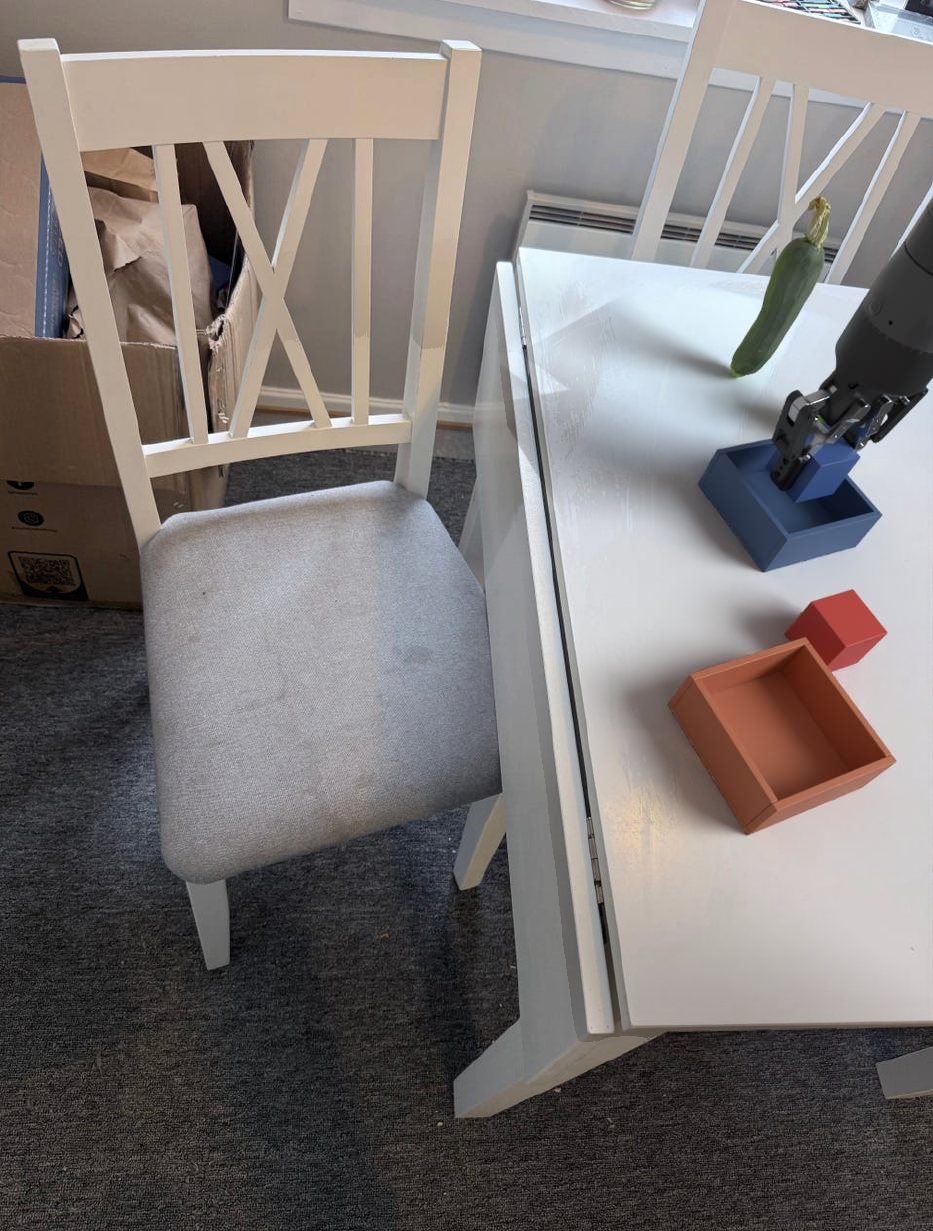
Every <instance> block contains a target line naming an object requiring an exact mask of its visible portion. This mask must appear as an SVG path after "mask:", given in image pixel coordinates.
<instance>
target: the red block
mask: <svg viewBox="0 0 933 1231" xmlns="http://www.w3.org/2000/svg"><path fill="white" fill-rule="evenodd" d="M784 634H785V636H786V638H787V639H788V640H789V642H791V641H794V640H798V639H801V638H804V637H806V638H807V640H808V641H809V643H810V644H811V645H812V647H813V648H814V649H815V651H816V652H817V653H818V655H819V656H820V657H821V659H822V660H823V661H824V663H825V664H826V666H827V667H828V668H829V670H830V671H831V672H832V673H833V672H835V671H838V670H841V669H845V668H847V667H850V666H854V665H856V664H858V663H859V662H860V661H861V660H862V659H863V658H864V657H865V656H866V655H867V654H869V652H870V651H871V650H872V649H873V648H874V647H876V645H878V643H880V641H881V640H883V638H885V637H886V636H887V635H888V634H889V632H888V631H887V630H886V628H885V626H884V625H882V623H881V622H880V621H879V619H878V618H877V617H876V616H875V614H874V613H873V612H872V610H870V608H869V607H868V606H867V604H866V603H865V601H863V599H862V598H861V597H860V596H859V594H858V593H857V592H856V591H855V590H854V589H853V588H851V589H848V590H844V591H842V592H839V593H838V592H837V593H835V594H832V595H828V596H825V597H822V598H819V599H815V600H812V601H810V602H809V603H808V605H807V606H806V607H805V608H804V609H803V611H802V612H801V613H800V614H799V615H798V616H797V617H796V618H795V620H794V621H793V622H792V624H790V626H789V627H788V628H787V629H786V631H784Z"/></svg>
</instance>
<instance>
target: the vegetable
mask: <svg viewBox="0 0 933 1231" xmlns="http://www.w3.org/2000/svg"><path fill="white" fill-rule="evenodd" d="M831 208H832V207H831V206H830V203H828V201H827V199H826V198H825V197H824V196H816V197H815V198H813V199H812V200H810V201H809V203H808V209H807V212H811V211H812V210H814V209H815V211H814V212H813V213H812V215H811V217H810V220H809V222H808V224H807V227H806V228H807V230H806V232H804V233H803V235H804V236H802V237H797V238H794V239H793V240H791V241H789V243H787V244H786V245H785V247H784V248H783V249H782V250H781V252H780V254H779V255H778V257H777V259H776V260H775V262H774V266H773V269H772V272H771V273H770V274H771V275H770V278H769V281H768V283H767V286H766V289H765V293H764V296H763V300H762V305H761V308H760V311H759V313H758V315H757V317H756V319H755V320H754V322H753V323H752V324H751V326H750V327H749V329H748V331H747V332H746V334H745V335H744V336H743V339H742V341H741V342H740V344H739V345H738V347H737V348H736V349H735V351H734V353H733V355H732V357H731V362H730V364H729V368H730V369H731V371H730V375H731V376H733V377H734V378H737V379H738V378H743V377H745V376H749V375H753V374H756V373H758V372H759V371H760V370H762V368H763V367H764V366H765V365H766V364H767V363H768V361H769V360H770V359H771V358H772V357H773V355H774V354H775V353H776V351H778V350H777V349H778V348H779V346H780V345H781V343H782V342H783V341H784V338H785V337H786V335H787V333H788V332H789V330H790V329H791V327H792V326H793V325H794V323H795V322H796V320H797V318H798V317H799V314H800V313H801V312H802V309H803V307H804V305H805V303H806V302H807V301H808V299H809V298H810V296H811V295H812V293H813V291H814V289H815V287H816V285H817V283H818V280H819V279H820V276H821V274H822V272H823V270H824V265H825V260H826V253H825V249H824V247H823V242H824V241H825V240H826V238H827V236H828V232H829V224H830V223H829V220H830V216H831V211H830V209H831Z"/></svg>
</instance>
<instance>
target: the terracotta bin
mask: <svg viewBox="0 0 933 1231" xmlns="http://www.w3.org/2000/svg"><path fill="white" fill-rule="evenodd" d="M667 706H668V708H669V709H670V711H671V712H672V714H673V716H674V717H675V719H676V720H677V722H678V724H679V725H680V727H681V729H682V730H683V732H684V734H685V735H686V737H687V738H688V740H689V742H690V744H691V745H692V748H694V750H695V752H696V753H697V755H698V756H699V758H700V760H701V761H702V763H703V765H704V766H705V768H706V770H707V772H708V773H709V775H710V776H711V778H712V779H713V781H714V783H715V784H716V786H717V788H718V789H719V791H720V793H721V795H722V796H723V797H724V799H725V802H727V805H728V806H729V807H730V809H731V810H732V812H733V814H734V816H735V817H736V819H737V821H738V823H739V824H740V825H741V827H742V829H743V830H744V832H745V834H746V835H747V836H750V835H752V834H755V833H758V832H761V831H762V830H764V829H767V828H769V827H772V826H774V825H776V824H779V823H781V822H783V821H786V820H788V819H791V818H793V817H795V816H798V815H800V814H802V813H805V812H808V811H810V810H812V809H814V808H817V807H819V806H821V805H824V804H827V803H828V802H829V803H830V802H831V801H834V800H835V799H838V798H841V797H843V796H845V795H848V794H850V793H852V792H855V791H858V790H860V789H863V788H864V787H865V786H867V785H868V784H869V783H871V782H872V781H873V780H875V779H876V778H877V777H879V776H880V775H881V774H883V772H884V773H885V771H887V770H888V769H889V768H891V767H892V766H894V764H896V763H897V762H898V761H897V759H896V758H895V756H894V755H893V754H892V752H891V751H890V749H889V748H888V746H887V745H886V744H885V743H884V741H883V740H882V739H881V737H880V736H879V734H878V733H877V732H876V731H875V729H874V728H873V726H872V725H871V724H870V722H869V721H868V719H867V718H866V717H865V716H864V714H863V713H862V711H861V710H860V709H859V707H858V706H857V704H856V703H855V702H854V701H853V699H852V698H851V696H849V693H848V692H847V691H846V690H845V688H844V687H843V686H842V685H841V683H840V682H839V680H838V679H837V678H836V676H835V675H834V674H833V672H831V671H830V670H829V668H828V667H827V666H826V664H825V663H824V661H823V660H822V659H821V657H820V656H819V655H818V653H817V652H816V651H815V649H814V648H813V647H812V645H811V644H810V643H809V641H808V640H807V638H806V637H804V638H801V639H798V640H794V641H788V642H786V643H782V644H779V645H776V646H773V647H770V648H767V649H763V650H761V651H757V652H754V653H751V654H748V655H745V656H742V657H738V658H735V659H733V660H729V661H727V662H723V663H720V664H717V665H714V666H711V667H708V668H705V669H701V670H698V671H695V672H692V673H690V674H688V676H687V677H686V679H685V680H684V681H683V683H682V684H681V685H680V686H679V688H678V689H677V691H676V692H675V693H674V694H673V696H672V697H671V699H670V700H669V701H668V703H667Z"/></svg>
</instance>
